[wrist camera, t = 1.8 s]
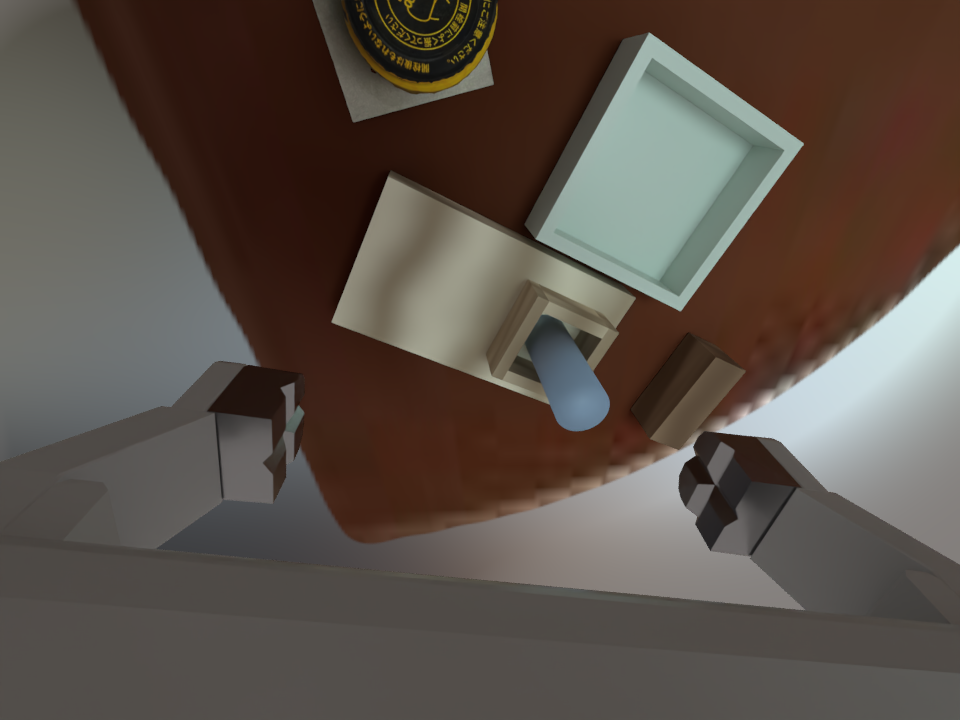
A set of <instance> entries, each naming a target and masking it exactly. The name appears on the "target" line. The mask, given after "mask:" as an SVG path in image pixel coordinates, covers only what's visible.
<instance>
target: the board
mask: <svg viewBox="0 0 960 720" xmlns="http://www.w3.org/2000/svg"><path fill="white" fill-rule="evenodd" d="M635 299H636V298H635V297H634V296H633V295H632V294H631V293H630V292H629V291H628V290H627V289H626V288H625V287H624V286H623V285H621V284H619V283H617V282H615V281H613V280H611V279H609V278H607V277H605V276H603V275H601V274H599V273H597V272H595V271H593V270H591V269H589V268H587V267H585V266H583V265H581V264H579V263H577V262H575V261H573V260H571V259H569V258H567V257H565V256H563V255H561V254H559V253H557V252H555V251H553V250H551V249H549V248H547V247H545V246H543V245H541V244H538V243H536V242H534V241H532V240H530V239H528V238H526V237H524V236H522V235H520V234H518V233H516V232H514V231H512V230H510V229H508V228H506V227H504V226H502V225H500V224H498V223H496V222H494V221H492V220H490V219H488V218H486V217H484V216H482V215H480V214H478V213H476V212H474V211H472V210H470V209H468V208H466V207H464V206H462V205H460V204H458V203H456V202H454V201H452V200H450V199H448V198H446V197H444V196H442V195H440V194H438V193H436V192H434V191H432V190H430V189H428V188H425V187H423V186H421V185H419V184H417V183H415V182H413V181H411V180H409V179H407V178H405V177H403V176H401V175H399V174H397V173H395V172H393V171H390V173H389V176H388V178H387V181H386V183H385V186H384V188H383V191H382V194H381V196H380V199H379V201H378V204H377V206H376V209H375V212H374V214H373V217H372V219H371V222H370V224H369V227H368V230H367V232H366V235H365V237H364V240H363V242H362V245H361V247H360V250H359V253H358V255H357V258H356V260H355V263H354V265H353V268H352V271H351V273H350V276H349V278H348V281H347V283H346V286H345V289H344V291H343V294H342V296H341V299H340V301H339V304H338V306H337V309H336V312H335V314H334V317H333V320H332V323H334V324H337V325H340V326H342V327H345V328H348V329H350V330H353V331H356V332H358V333H361V334H364V335H366V336H369V337H372V338H374V339H377V340H380V341H382V342H385V343H388V344H390V345H393V346H396V347H398V348H401V349H404V350H406V351H409V352H412V353H414V354H417V355H420V356H422V357H425V358H428V359H430V360H433V361H436V362H438V363H441V364H444V365H446V366H449V367H452V368H454V369H457V370H460V371H462V372H465V373H468V374H470V375H473V376H476V377H478V378H481V379H484V380H486V381H489V382H492V383H494V384H497V385H500V386H502V387H505V388H508V389H510V390H513V391H516V392H518V393H521V394H524V395H526V396H529V397H532V398H534V399H537V400H540V401H542V402H545V403H548V404H550V403H549V401H548V398H547V396H546V393H545V391H544V389H543V386H542V384H541V381H540V379H539V377H538V374H537V372H536V369H535V367H534V365H533V362H532V360H531V357H530V355H529V353H528V350H527V348H526V345H525V341H526V340H527V338H528V336H529V335H530V333H531V331H532V330H533V328H534V326H535V325H536V323H537V321H538V320H539V318H540V316H541V315H549V316H552V317H554V318H556V319H558V320H561V321H562V322H563V324H564V326H565V327H566V329H567V331H568V332H569V334H570V335H571V337H572V339H573V340H574V342H575V344H576V345H577V347H578V348H579V350H580V352H581V353H582V355H583V357H584V358H585V360H586V361H587V363H588V365H589V366H590V368H591V369H592V371H593V370H594V369H595V367H596V366H597V364H598V363H599V361H600V360H601V359H602V357H603V356H604V354H605V353H606V351H607V350H608V348H609V347H610V345H611V344H612V343H613V341H614V340H615V338H616V337H617V335H618V334H619V332H618V331H617V330H616V329H615V328H616V327H617V325H618V324H619V322H620V321H621V319H622V318H623V316H624V315H625V313H626V312H627V311H628V309H629V308H630V306H631V305H632V303H633V302H634V300H635Z"/></svg>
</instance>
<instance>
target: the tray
mask: <svg viewBox="0 0 960 720" xmlns="http://www.w3.org/2000/svg"><path fill="white" fill-rule="evenodd" d="M802 146H803V143H802V142H801V141H799V140H798V139H797V138H795V137H794V136H792V135H791V134H790V133H788V132H787V131H785V130H784V129H783V128H781V127H780V126H778V125H777V124H776V123H774V122H773V121H772V120H770V119H769V118H767V117H766V116H765V115H763V114H762V113H760V112H759V111H758V110H756V109H755V108H753V107H752V106H751V105H749V104H748V103H746V102H745V101H744V100H742V99H741V98H740V97H738V96H737V95H735V94H734V93H733V92H731V91H730V90H728V89H727V88H726V87H724V86H723V85H721V84H720V83H719V82H717V81H716V80H715V79H713V78H712V77H710V76H709V75H708V74H706V73H705V72H703V71H702V70H701V69H699V68H698V67H696V66H695V65H694V64H692V63H691V62H690V61H688V60H687V59H685V58H684V57H683V56H681V55H680V54H678V53H677V52H676V51H674V50H673V49H671V48H670V47H669V46H667V45H666V44H664V43H663V42H662V41H660V40H659V39H658V38H656V37H655V36H653V35H652V34H651V33H646V34H642V35H638V36H634V37H630V38H626V39H623V40H622V42H621V44H620V46H619V48H618V49H617V51H616V53H615V55H614V57H613V59H612V61H611V63H610V65H609V66H608V68H607V70H606V72H605V74H604V76H603V78H602V80H601V81H600V83H599V85H598V87H597V89H596V91H595V93H594V95H593V96H592V98H591V100H590V102H589V104H588V106H587V108H586V110H585V111H584V113H583V115H582V117H581V119H580V121H579V123H578V125H577V126H576V128H575V130H574V132H573V134H572V136H571V138H570V140H569V141H568V143H567V145H566V147H565V149H564V151H563V153H562V155H561V157H560V158H559V160H558V162H557V164H556V166H555V168H554V170H553V172H552V173H551V175H550V177H549V179H548V181H547V183H546V185H545V187H544V188H543V190H542V192H541V194H540V196H539V198H538V200H537V202H536V203H535V205H534V207H533V209H532V211H531V213H530V215H529V217H528V218H527V220H526V222H525V224H524V225H525V226H526V227H527V229H528V230H529V231H530V232H531V234H532V235H533V236H534V238H535V239H536V240H539V241H541V242H543V243H545V244H547V245H549V246H551V247H553V248H555V249H557V250H559V251H561V252H563V253H565V254H567V255H569V256H571V257H573V258H575V259H577V260H579V261H581V262H583V263H585V264H587V265H589V266H591V267H593V268H595V269H597V270H599V271H601V272H603V273H605V274H607V275H609V276H611V277H613V278H615V279H617V280H619V281H621V282H623V283H625V284H627V285H629V286H631V287H633V288H635V289H637V290H639V291H641V292H643V293H645V294H647V295H649V296H651V297H653V298H655V299H657V300H659V301H661V302H663V303H665V304H667V305H669V306H671V307H673V308H675V309H677V310H679V311H681V310H682V309H683V307H684V306H685V305H686V303H687V302H688V301H689V299H690V298H691V297H692V295H693V294H694V292H695V291H696V290H697V288H698V287H699V286H700V284H701V283H702V282H703V280H704V279H705V278H706V276H707V275H708V273H709V272H710V271H711V269H712V268H713V267H714V265H715V264H716V263H717V261H718V260H719V259H720V257H721V256H722V254H723V253H724V252H725V250H726V249H727V248H728V246H729V245H730V244H731V242H732V241H733V239H734V238H735V237H736V235H737V234H738V233H739V231H740V230H741V229H742V227H743V226H744V225H745V223H746V222H747V220H748V219H749V218H750V216H751V215H752V214H753V212H754V211H755V210H756V208H757V207H758V206H759V204H760V203H761V201H762V200H763V199H764V197H765V196H766V195H767V193H768V192H769V191H770V189H771V188H772V186H773V185H774V184H775V182H776V181H777V180H778V178H779V177H780V176H781V174H782V173H783V172H784V170H785V169H786V167H787V166H788V165H789V163H790V162H791V161H792V159H793V158H794V157H795V155H796V154H797V153H798V151H799V150H800V148H801V147H802Z"/></svg>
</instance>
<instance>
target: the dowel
mask: <svg viewBox="0 0 960 720" xmlns="http://www.w3.org/2000/svg"><path fill="white" fill-rule="evenodd" d="M525 345H526V348H527V350H528V353H529V355H530V357H531V360H532V362H533V365H534V367H535V369H536V372H537V374H538V377H539V379H540V381H541V384H542V386H543V389H544V391H545V393H546V396H547V398H548V401H549V403H550V406H551V408H552V410H553V413H554V415H555V418H556V420H557V422H558V423H559V424H560V425H561V426H562V427H563V428H565V429H568V430H571V431H583V430H587V429H590V428H592V427H594V426H596V425H597V424H599V423H600V422H601V421H602V420H603V419H604V418H605V416H606V415H607V413H608V410H609V406H610V402H609V398H608V396H607V394H606V392H605V391H604V389H603V387H602V386H601V384H600V382H599V381H598V379H597V378H596V376H595V374H594V373H593V371H592V369H591V368H590V366H589V365H588V363H587V361H586V360H585V358H584V357H583V355H582V353H581V352H580V350H579V348H578V347H577V345H576V344H575V342H574V340H573V339H572V337H571V335H570V334H569V332H568V331H567V329H566V327H565V326H564V324H563V322H562V321H561V320H558V319H556V318H554V317H552V316H549V315H541V316H540V318H539V320H538V321H537V323H536V325H535V326H534V328H533V330H532V331H531V333H530V335H529V336H528V338H527V340H526V341H525Z"/></svg>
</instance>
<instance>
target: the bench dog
mask: <svg viewBox="0 0 960 720" xmlns="http://www.w3.org/2000/svg"><path fill="white" fill-rule="evenodd" d="M745 372H746V371H745V370H744V369H743V368H742V367H740V366H739V365H738V364H737V363H736V362H735V361H734V360H732V359H731V358H730V357H729V356H728V355H727V354H725V353H724V352H723V351H722V350H721V349H720V348H718V347H717V346H716V345H714V344H712V343H710V342H707V341H705V340H703V339H701V338H699V337H697V336H695V335H693V334H691V333H688V334H687V335H686V337H685V338H684V339H683V341H682V342H681V343H680V345H679V346H678V347H677V348H676V350H675V351H674V352H673V354H672V355H671V356H670V358H669V359H668V360H667V362H666V363H665V364H664V366H663V367H662V368H661V370H660V371H659V372H658V373H657V375H656V376H655V377H654V379H653V380H652V381H651V383H650V384H649V385H648V387H647V388H646V389H645V391H644V392H643V393H642V395H641V396H640V397H639V398H638V400H637V401H636V402H635V404H634V405H633V406H632V408H631V411H632V413H633V414H634V416H635V417H636V419H637V420H638V422H639V423H640V425H641V426H642V428H643V429H644V431H645V432H646V434H647V435H648V437H649V438H650V439H651V440H654V441H657V442H659V443H662V444H665V445H667V446H670V447H673V448H675V449H678V450H679V449H680V448H681V447H682V446H683V444H684V443H685V442H686V441H687V440H688V439H689V437H690V436H691V435H692V434H693V433H694V432H695V430H696V429H697V428H698V427H699V426H700V425H701V423H702V422H703V421H704V420H705V419H706V417H707V416H708V415H709V414H710V413H711V412H712V410H713V409H714V408H715V407H716V406H717V405H718V403H719V402H720V401H721V400H722V399H723V398H724V396H725V395H726V394H727V393H728V392H729V391H730V389H731V388H732V387H733V386H734V385H735V383H736V382H737V381H738V380H739V379H740V378H741V376H742V375H743V374H744V373H745Z"/></svg>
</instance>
